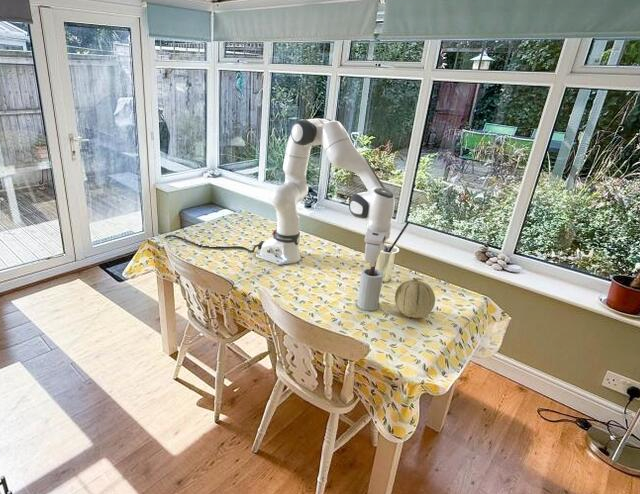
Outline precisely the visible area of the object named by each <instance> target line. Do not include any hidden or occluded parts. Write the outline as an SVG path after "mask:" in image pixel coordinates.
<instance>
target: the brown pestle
mask: <svg viewBox="0 0 640 494" xmlns="http://www.w3.org/2000/svg"><path fill="white" fill-rule="evenodd" d="M369 268H370V274H369V276H374V273H375V269H376V263H375V266H374V267H371V266H369Z"/></svg>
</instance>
